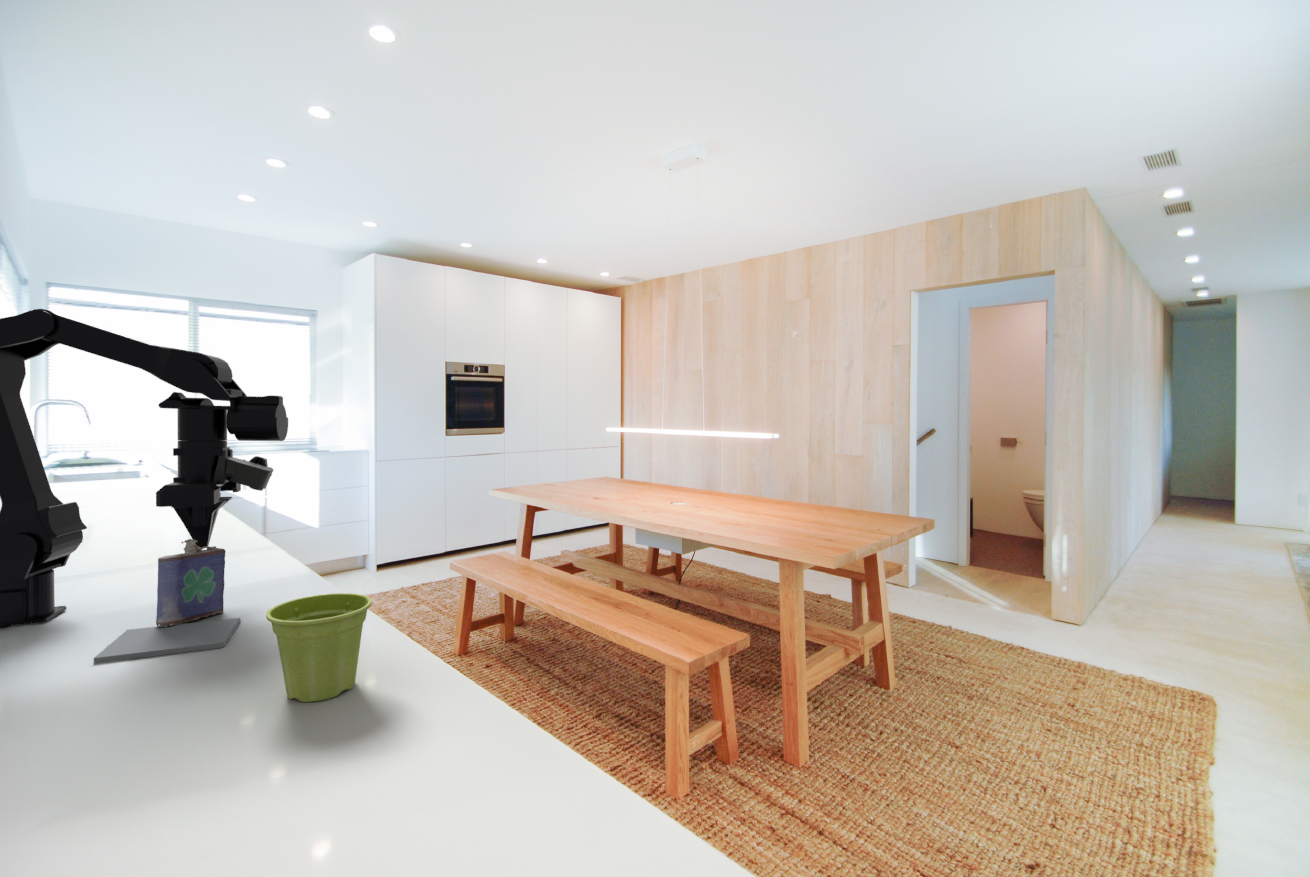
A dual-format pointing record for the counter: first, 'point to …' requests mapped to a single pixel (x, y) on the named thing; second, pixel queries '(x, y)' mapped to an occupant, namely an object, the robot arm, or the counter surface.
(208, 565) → the flask
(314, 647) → the plant pot
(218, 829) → the counter surface
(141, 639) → the serving mat
